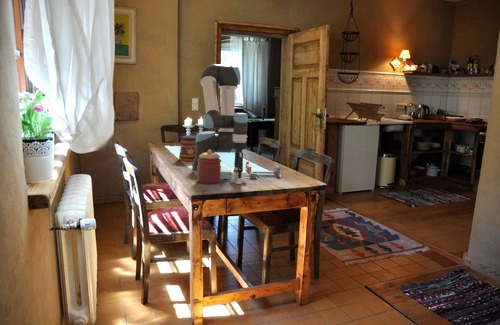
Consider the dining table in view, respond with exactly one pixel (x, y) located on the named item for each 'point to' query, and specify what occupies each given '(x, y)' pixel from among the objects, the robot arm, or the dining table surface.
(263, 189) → the dining table surface
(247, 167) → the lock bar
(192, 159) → the beer stein
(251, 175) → the coupler rail
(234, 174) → the lock block
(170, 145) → the dining table surface
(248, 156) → the dining table surface
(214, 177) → the canister
